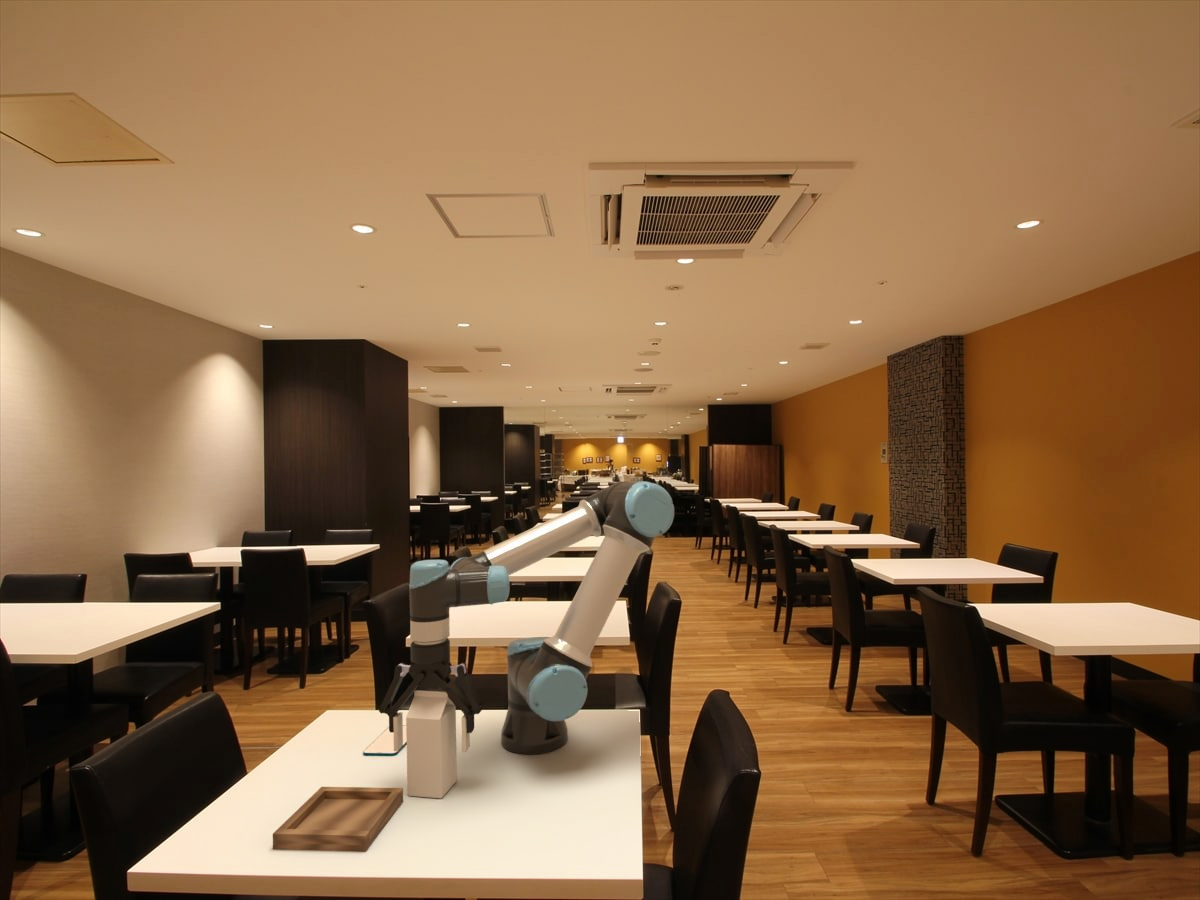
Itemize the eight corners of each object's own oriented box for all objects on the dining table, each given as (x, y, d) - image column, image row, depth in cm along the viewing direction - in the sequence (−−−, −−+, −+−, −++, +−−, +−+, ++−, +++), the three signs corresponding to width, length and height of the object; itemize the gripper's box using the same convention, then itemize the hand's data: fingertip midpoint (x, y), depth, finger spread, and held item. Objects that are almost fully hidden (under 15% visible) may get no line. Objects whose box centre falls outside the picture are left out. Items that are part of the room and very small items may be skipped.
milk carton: (441, 799, 123) (439, 698, 124) (407, 796, 125) (405, 696, 125) (457, 781, 130) (455, 685, 131) (424, 778, 132) (422, 684, 132)
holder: (403, 801, 123) (402, 788, 123) (365, 851, 107) (365, 835, 107) (321, 799, 124) (321, 786, 124) (272, 849, 108) (272, 833, 108)
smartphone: (390, 729, 159) (361, 757, 143) (390, 725, 159) (361, 752, 143) (422, 729, 159) (396, 757, 143) (422, 725, 159) (396, 753, 143)
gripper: (497, 634, 131) (499, 741, 131) (377, 635, 133) (378, 740, 133) (487, 644, 124) (489, 757, 123) (360, 645, 126) (362, 756, 125)
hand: (432, 748), depth 128 cm, fingers open, 13 cm apart
